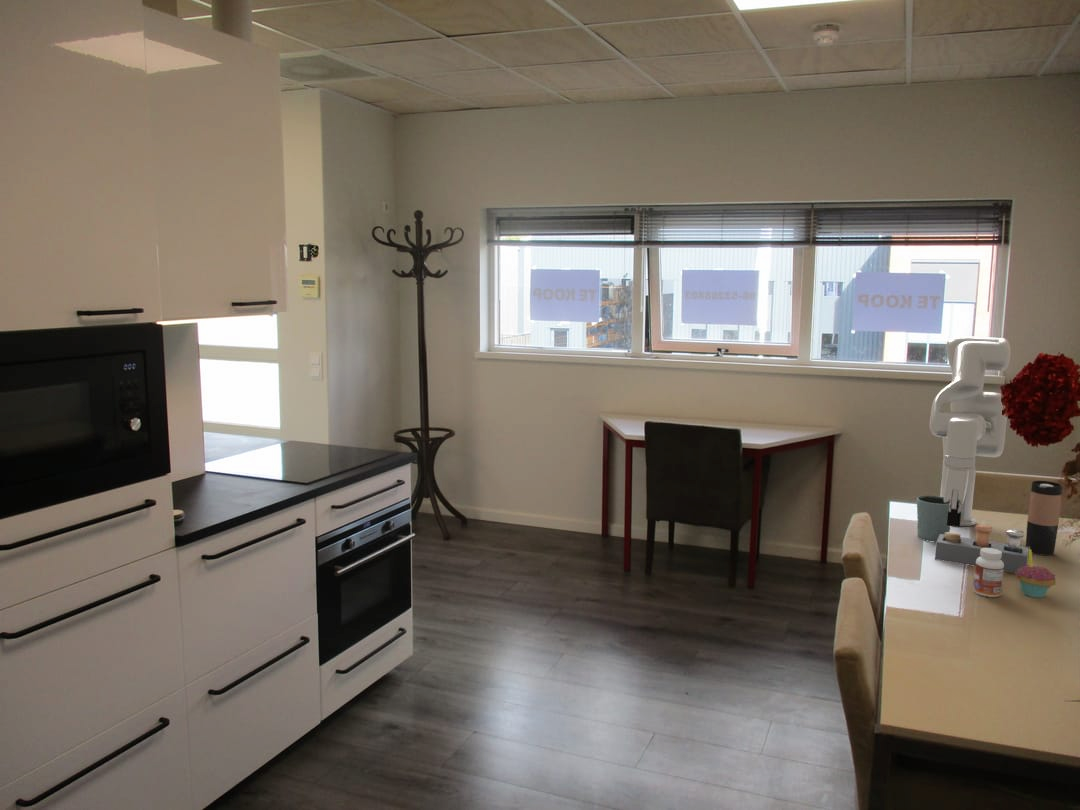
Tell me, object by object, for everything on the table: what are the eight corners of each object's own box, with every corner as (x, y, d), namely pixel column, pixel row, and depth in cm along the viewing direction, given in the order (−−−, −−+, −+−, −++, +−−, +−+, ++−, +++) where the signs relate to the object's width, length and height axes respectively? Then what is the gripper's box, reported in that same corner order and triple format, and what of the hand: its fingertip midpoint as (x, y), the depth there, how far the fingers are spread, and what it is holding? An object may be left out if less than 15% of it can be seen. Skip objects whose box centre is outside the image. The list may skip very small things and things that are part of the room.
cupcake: (1014, 596, 207) (1019, 549, 205) (1013, 585, 214) (1018, 540, 212) (1054, 603, 203) (1060, 555, 201) (1052, 591, 210) (1057, 545, 209)
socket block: (938, 550, 241) (939, 533, 240) (1026, 564, 230) (1028, 547, 229) (934, 559, 233) (936, 541, 233) (1025, 574, 222) (1027, 556, 222)
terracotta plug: (974, 544, 234) (976, 523, 233) (990, 546, 232) (992, 525, 231) (973, 548, 230) (975, 526, 229) (989, 550, 228) (991, 529, 227)
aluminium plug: (1004, 549, 230) (1006, 528, 229) (1021, 551, 228) (1023, 530, 227) (1004, 553, 227) (1006, 531, 226) (1021, 555, 225) (1023, 534, 224)
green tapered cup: (956, 543, 248) (960, 504, 246) (922, 542, 248) (925, 503, 246) (941, 533, 258) (944, 495, 256) (908, 532, 258) (911, 494, 256)
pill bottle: (972, 587, 213) (977, 545, 211) (1000, 591, 210) (1004, 548, 208) (972, 595, 207) (977, 552, 206) (1001, 599, 204) (1005, 556, 203)
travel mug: (1046, 547, 245) (1054, 481, 242) (1060, 556, 238) (1068, 487, 235) (1019, 546, 246) (1026, 480, 243) (1031, 554, 239) (1039, 486, 236)
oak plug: (943, 551, 238) (945, 531, 237) (959, 554, 236) (961, 533, 235) (941, 555, 235) (943, 534, 234) (957, 558, 233) (959, 537, 232)
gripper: (947, 454, 240) (941, 516, 243) (941, 466, 227) (935, 530, 230) (976, 458, 236) (970, 520, 239) (972, 469, 223) (965, 535, 227)
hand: (953, 525), depth 235 cm, fingers closed
